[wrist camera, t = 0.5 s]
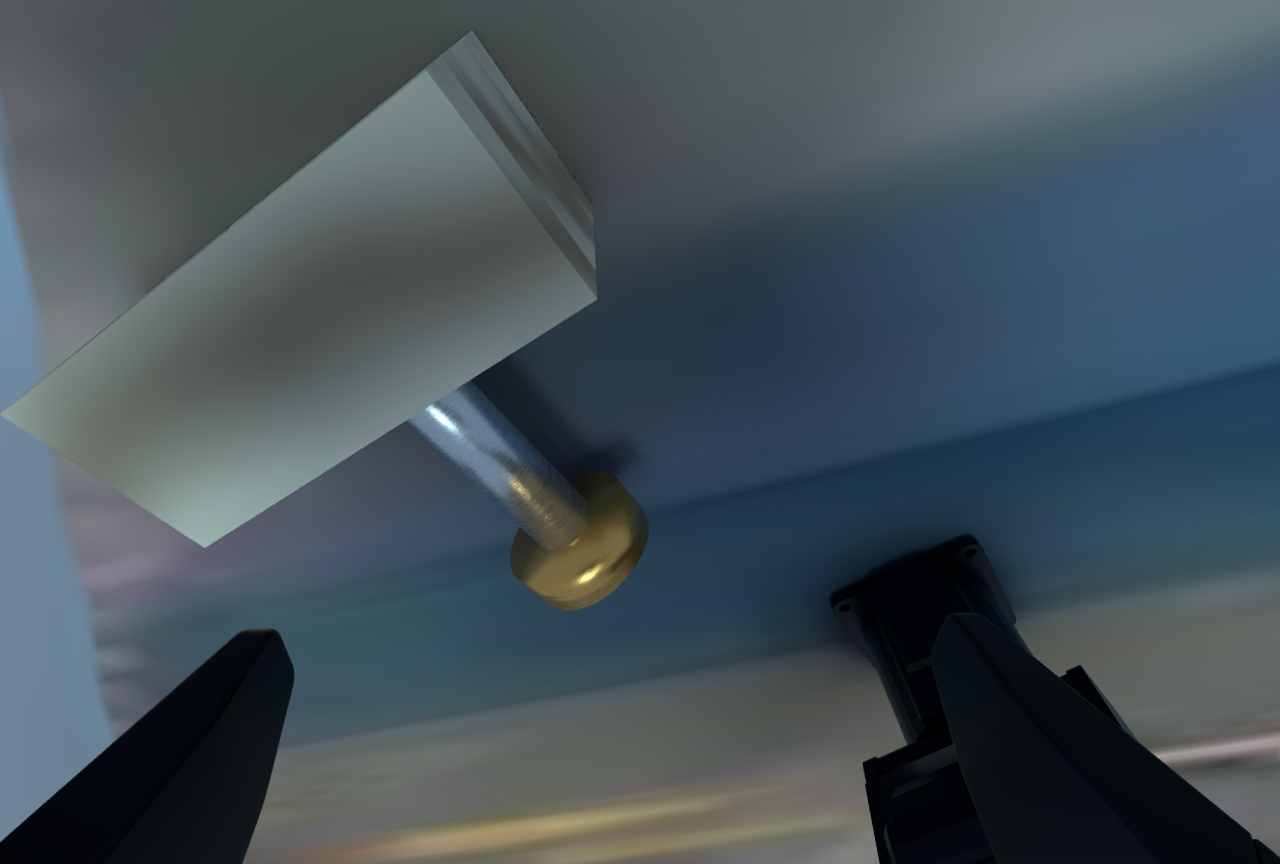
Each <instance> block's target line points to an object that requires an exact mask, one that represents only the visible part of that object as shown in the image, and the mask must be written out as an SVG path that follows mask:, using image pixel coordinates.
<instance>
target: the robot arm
mask: <svg viewBox="0 0 1280 864" xmlns="http://www.w3.org/2000/svg"><path fill="white" fill-rule="evenodd" d="M830 603H831V606H832V609H833V611H834V613H835V615H836V616H837V617H838V619H839V620H840V621H841V623H842V624H843V625H844V627H845V628H846V630H847V631H848V632H849V634H850V635H851V636H852V638H853V639H854V640H855V642H856V643H857V644H858V646H859V647H860V648H861V650H862V651H863V652H864V654H865V655H866V656H867V658H868V659H869V660H870V662H871V663H872V664H873V666H874V667H875V669H876V670H877V671H878V674H879V676H880V679H881V681H882V684H883V686H884V689H885V691H886V694H887V696H888V698H889V701H890V703H891V706H892V708H893V711H894V713H895V716H896V718H897V721H898V723H899V726H900V728H901V731H902V733H903V735H904V738H905V740H906V743H907V746H904V747H902V748H900V749H898V750H895V751H893V752H891V753H889V754H886V755H884V756H882V757H880V758H877V757H873V758H871V759H869V760H867V761H864V762H863V768H864V773H865V779H866V784H865V787H866V793H867V798H868V803H869V809H870V814H871V820H872V825H873V830H874V836H875V841H876V847H877V852H878V857H879V863H880V864H1280V857H1279V856H1278V855H1277V854H1275V853H1274V852H1273V851H1272V850H1271V849H1269V848H1268V847H1267V846H1266V845H1264V844H1263V843H1262V842H1261V841H1259V840H1257V839H1252V836H1251V834H1250V833H1249V832H1248V831H1247V830H1246V829H1244V828H1243V827H1242V826H1241V825H1240V824H1238V823H1237V822H1236V821H1235V820H1233V819H1232V818H1231V817H1230V816H1228V815H1227V814H1226V813H1225V812H1224V811H1222V810H1221V809H1220V808H1219V807H1217V806H1216V805H1215V804H1214V803H1213V802H1211V801H1210V800H1209V799H1208V798H1206V797H1205V796H1204V795H1203V794H1201V793H1200V792H1199V791H1198V790H1197V789H1195V788H1194V787H1193V786H1192V785H1190V784H1189V783H1188V782H1187V781H1186V780H1184V779H1183V778H1182V777H1181V776H1179V775H1178V774H1177V773H1176V772H1174V771H1173V770H1172V769H1171V768H1170V767H1168V766H1167V765H1166V764H1165V763H1163V762H1162V761H1161V760H1160V759H1159V758H1157V757H1156V756H1155V755H1154V754H1152V753H1151V752H1150V751H1149V750H1148V749H1146V748H1145V747H1144V746H1143V745H1141V744H1140V743H1139V742H1138V741H1137V739H1136V738H1135V736H1134V735H1133V734H1132V732H1131V731H1130V729H1129V728H1128V727H1127V725H1126V724H1125V722H1124V721H1123V719H1122V718H1121V717H1120V715H1119V714H1118V713H1117V711H1116V710H1115V709H1114V707H1113V706H1112V705H1111V704H1110V702H1109V701H1108V700H1107V698H1106V697H1105V696H1104V695H1103V693H1102V692H1101V691H1100V689H1099V688H1098V687H1097V686H1096V684H1095V683H1094V682H1093V680H1092V679H1091V678H1090V677H1089V675H1088V674H1087V673H1086V671H1085V670H1084V669H1083V668H1082V666H1081V665H1078V666H1076V667H1074V668H1072V669H1070V670H1067V671H1066V673H1067V674H1065V675H1063V676H1061V677H1058V676H1057V675H1055V674H1054V673H1053V672H1052V671H1051V670H1049V669H1048V668H1047V667H1046V666H1044V665H1043V664H1042V663H1041V662H1040V661H1038V660H1037V659H1036V658H1035V657H1034V656H1033V655H1032V653H1031V652H1030V650H1029V649H1028V647H1027V645H1026V644H1025V642H1024V641H1023V639H1022V637H1021V636H1020V634H1019V633H1018V631H1017V629H1016V628H1015V626H1014V624H1015V623H1016V617H1015V615H1014V613H1013V611H1012V609H1011V607H1010V605H1009V602H1008V600H1007V598H1006V596H1005V594H1004V592H1003V590H1002V588H1001V586H1000V584H999V581H998V579H997V577H996V575H995V573H994V571H993V569H992V567H991V565H990V563H989V560H988V558H987V556H986V554H985V552H984V550H983V548H982V546H981V545H980V543H979V542H978V540H977V539H975V538H972V537H970V538H964V539H961V540H959V541H957V542H955V543H952V544H950V545H948V546H946V547H943V548H941V549H939V550H937V551H934V552H932V553H930V554H928V555H925V556H923V557H921V558H919V559H916V560H914V561H912V562H909V563H907V564H905V565H903V566H900V567H898V568H896V569H894V570H891V571H889V572H887V573H885V574H882V575H880V576H878V577H876V578H873V579H871V580H869V581H866V582H864V583H862V584H860V585H857V586H855V587H853V588H851V589H848V590H846V591H844V592H842V593H839V594H837V595H836V596H834V597H833V598H832V599H831V602H830ZM293 684H294V668H293V664H292V662H291V660H290V657H289V655H288V652H287V650H286V648H285V645H284V643H283V640H282V638H281V636H280V634H279V632H277V631H276V630H275V629H247V630H243V631H241V632H239V633H237V634H236V635H235V636H234V637H233V638H231V639H230V640H229V641H228V642H227V643H226V644H225V645H223V646H222V647H221V648H220V649H219V650H218V651H217V652H216V653H214V654H213V655H212V656H211V657H210V658H209V659H208V660H206V661H205V662H204V663H203V664H202V665H201V666H200V667H198V668H197V669H196V670H195V671H194V672H193V673H192V674H191V675H189V676H188V677H187V678H186V679H185V680H184V681H183V682H181V683H180V684H179V685H178V686H177V687H176V688H175V689H173V690H172V691H171V692H170V693H169V694H168V695H167V696H166V697H164V698H163V699H162V700H161V701H160V702H159V703H158V704H156V705H155V706H154V707H153V708H152V709H151V710H150V711H149V712H147V713H146V714H145V715H144V716H143V717H142V718H141V719H139V720H138V721H137V722H136V723H135V724H134V725H133V726H131V727H130V728H129V729H128V730H127V731H126V732H125V733H124V734H122V735H121V736H120V737H119V738H118V739H117V740H116V741H114V742H113V743H112V744H111V745H110V746H109V747H108V748H106V749H105V750H104V751H103V752H102V753H101V754H100V755H99V756H97V757H96V758H95V759H94V760H93V761H92V762H91V763H89V764H88V765H87V766H86V767H85V768H84V769H83V770H81V772H79V773H78V774H77V775H76V776H75V777H74V778H72V779H71V780H70V781H69V782H68V783H67V784H66V785H64V787H62V788H61V789H60V790H59V791H58V792H56V793H55V794H54V795H53V796H52V797H51V798H50V799H49V800H47V801H46V802H45V803H44V804H43V805H42V806H41V807H39V808H38V809H37V810H36V811H35V812H34V813H33V814H31V815H30V816H29V817H28V818H27V819H26V820H25V821H24V822H22V823H21V824H20V825H19V826H18V827H17V828H16V829H15V830H13V831H12V832H11V833H10V834H9V835H8V836H6V837H5V838H4V839H3V840H2V841H1V842H0V864H242V863H243V860H244V857H245V855H246V852H247V849H248V846H249V844H250V841H251V838H252V835H253V833H254V830H255V827H256V824H257V822H258V819H259V816H260V813H261V810H262V807H263V804H264V800H265V797H266V793H267V789H268V786H269V782H270V778H271V774H272V770H273V766H274V762H275V758H276V754H277V750H278V746H279V741H280V737H281V733H282V729H283V725H284V721H285V717H286V713H287V709H288V705H289V701H290V697H291V693H292V689H293Z"/></svg>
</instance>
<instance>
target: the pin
mask: <svg viewBox="0 0 1280 864" xmlns="http://www.w3.org/2000/svg"><path fill="white" fill-rule="evenodd" d="M406 421H407V422H408V423H409V424H410V425H411V426H412V427H413V428H414V429H416V430H417V431H418V432H419V433H420V434H421V435H422V436H423V437H424V438H425V439H426V440H427V441H428V442H430V443H431V444H432V445H433V446H434V447H435V448H436V449H437V450H438V451H439V452H440V453H441V454H442V455H443V456H445V457H446V458H447V459H448V460H449V461H450V462H451V463H452V464H453V465H454V466H455V467H456V468H457V469H459V470H460V471H461V472H462V473H463V474H464V475H465V476H466V477H467V478H468V479H469V480H470V481H471V482H472V483H474V484H475V485H476V486H477V487H478V488H479V489H480V490H481V491H482V492H483V493H484V494H485V495H486V496H488V497H489V498H490V499H491V500H492V501H493V502H494V503H495V504H496V505H497V506H498V507H499V508H500V509H502V510H503V511H504V512H505V513H506V514H507V515H508V516H509V517H510V518H511V519H512V520H513V521H514V522H515V523H517V524H518V525H519V526H520V528H519V530H518V532H517V534H516V536H515V539H514V541H513V545H512V548H511V555H510V562H511V568H512V571H513V573H514V575H515V576H516V577H517V578H518V579H519V580H520V581H521V582H522V583H523V584H524V585H526V586H527V587H528V588H529V589H530V590H531V591H533V592H534V593H535V594H536V595H537V596H538V597H539V598H541V599H542V600H543V601H544V602H545V603H546V604H548V605H549V606H550V607H552V608H554V609H557V610H561V611H574V610H579V609H582V608H586V607H588V606H590V605H593V604H595V603H597V602H598V601H600V600H602V599H603V598H605V597H606V596H608V595H609V594H610V593H611V592H613V591H614V590H615V589H616V588H617V587H618V586H619V585H620V584H621V583H622V582H623V581H624V580H625V579H626V578H627V577H628V576H629V574H630V573H631V572H632V570H633V569H634V568H635V566H636V564H637V563H638V561H639V559H640V557H641V555H642V553H643V551H644V548H645V546H646V542H647V538H648V531H649V522H648V518H647V515H646V512H645V510H644V509H643V508H642V506H641V505H640V504H639V503H638V502H637V501H636V500H635V498H634V497H633V496H632V495H631V494H630V493H629V492H628V491H627V489H626V488H625V487H624V486H623V485H622V484H621V483H620V482H619V480H618V479H617V478H616V477H614V476H613V475H612V474H610V473H607V472H604V471H591V472H585V473H582V474H579V475H576V476H574V477H572V478H570V479H568V480H566V479H565V478H564V477H563V476H562V475H561V474H560V473H559V472H558V471H557V470H556V469H555V468H554V467H553V466H552V465H551V464H550V463H549V462H548V460H547V459H546V458H545V457H544V456H543V455H542V454H541V453H540V452H539V451H538V450H537V449H536V448H535V447H534V446H533V445H532V444H531V443H530V442H529V441H528V440H527V438H526V437H525V436H524V435H523V434H522V433H521V432H520V431H519V430H518V429H517V428H516V427H515V426H514V425H513V424H512V423H511V422H510V421H509V420H508V419H507V418H506V416H505V415H504V414H503V413H502V412H501V411H500V410H499V409H498V408H497V407H496V406H495V405H494V404H493V403H492V402H491V401H490V400H489V399H488V398H487V397H486V396H485V394H484V393H483V392H482V391H481V390H480V389H479V388H478V387H477V386H476V385H475V384H474V383H473V382H472V381H471V380H469V381H468V382H466V383H465V384H463V385H461V386H460V387H458V388H457V389H455V390H454V391H452V392H450V393H449V394H447V395H446V396H444V397H442V398H441V399H439V400H438V401H436V402H435V403H433V404H431V405H430V406H428V407H427V408H425V409H424V410H422V411H420V412H419V413H417V414H416V415H414V416H412V417H411V418H409V419H408V420H406Z"/></svg>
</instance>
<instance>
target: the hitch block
mask: <svg viewBox="0 0 1280 864" xmlns="http://www.w3.org/2000/svg"><path fill="white" fill-rule="evenodd" d="M596 300H597V281H596V261H595V240H594V220H593V205H592V204H591V202H590V201H589V199H588V198H587V197H586V195H585V194H584V192H583V191H582V189H581V188H580V186H579V185H578V183H577V182H576V181H575V179H574V178H573V176H572V175H571V173H570V172H569V170H568V169H567V167H566V166H565V165H564V163H563V162H562V160H561V159H560V157H559V156H558V154H557V153H556V151H555V150H554V149H553V147H552V146H551V144H550V143H549V141H548V140H547V138H546V137H545V135H544V134H543V132H542V131H541V130H540V128H539V127H538V125H537V124H536V122H535V121H534V119H533V118H532V116H531V115H530V114H529V112H528V111H527V109H526V108H525V106H524V105H523V103H522V102H521V100H520V99H519V98H518V96H517V95H516V93H515V92H514V90H513V89H512V87H511V86H510V84H509V83H508V82H507V80H506V79H505V77H504V76H503V74H502V73H501V71H500V70H499V68H498V67H497V65H496V64H495V63H494V61H493V60H492V58H491V57H490V55H489V54H488V52H487V51H486V49H485V48H484V47H483V45H482V44H481V42H480V41H479V39H478V38H477V36H476V35H475V33H474V32H473V31H472V30H471V31H470V32H469V33H467V34H466V35H465V36H464V37H462V38H461V39H460V40H459V41H458V42H456V43H455V44H454V45H453V46H451V47H450V48H449V49H448V50H446V51H445V52H444V53H443V54H441V55H440V56H439V57H438V58H437V59H435V60H434V61H433V62H432V63H430V64H429V65H428V66H427V67H425V68H424V69H423V70H422V71H421V72H419V73H418V74H417V75H416V76H414V77H413V78H412V79H411V80H409V81H408V82H407V83H406V84H404V85H403V86H402V87H401V88H400V89H398V90H397V91H396V92H395V93H393V94H392V95H391V96H390V97H388V98H387V99H386V100H385V101H383V102H382V103H381V104H380V105H379V106H377V107H376V108H375V109H374V110H372V111H371V112H370V113H369V114H367V115H366V116H365V117H364V118H363V119H361V120H360V121H359V122H358V123H356V124H355V125H354V126H353V127H351V128H350V129H349V130H348V131H346V132H345V133H344V134H343V135H342V136H340V137H339V138H338V139H337V140H335V141H334V142H333V143H332V144H330V145H329V146H328V147H327V148H326V149H324V150H323V151H322V152H321V153H319V154H318V155H317V156H316V157H314V158H313V159H312V160H311V161H309V162H308V163H307V164H306V165H305V166H303V167H302V168H301V169H300V170H298V171H297V172H296V173H295V174H293V175H292V176H291V177H290V178H288V179H287V180H286V181H285V182H284V183H282V184H281V185H280V186H279V187H277V188H276V189H275V190H274V191H272V192H271V193H270V194H269V195H268V196H266V197H265V198H264V199H263V200H261V201H260V202H259V203H258V204H256V205H255V206H254V207H253V208H251V209H250V210H249V211H248V212H247V213H245V214H244V215H243V216H242V217H240V218H239V219H238V220H237V221H235V222H234V223H233V224H232V225H230V226H229V227H228V228H227V229H226V230H224V231H223V232H222V233H221V234H219V235H218V236H217V237H216V238H214V239H213V240H212V241H211V242H210V243H208V244H207V245H206V246H205V247H203V248H202V249H201V250H200V251H198V252H197V253H196V254H195V255H193V256H192V257H191V258H190V259H189V260H187V261H186V262H185V263H184V264H182V265H181V266H180V267H179V268H177V269H176V270H175V271H174V272H173V273H171V274H170V275H169V276H168V277H166V278H165V279H164V280H163V281H161V282H160V283H159V284H158V285H156V286H155V287H154V288H153V289H152V290H150V291H149V292H148V293H147V294H145V295H144V296H143V297H142V298H141V299H139V300H138V301H137V302H136V303H134V304H133V305H132V306H131V307H130V308H128V309H127V310H126V311H125V312H124V313H122V314H121V315H120V316H119V317H118V318H116V319H115V320H114V321H113V322H111V323H110V324H109V325H108V326H107V327H105V328H104V329H103V330H102V331H101V332H99V333H98V334H97V335H96V336H95V337H93V338H92V339H91V340H90V341H88V342H87V343H86V344H85V345H84V346H82V347H81V348H80V349H79V350H78V351H76V352H75V353H74V354H73V355H72V356H70V357H69V358H68V359H67V360H65V361H64V362H63V363H62V364H61V365H59V366H58V367H57V368H56V369H55V370H53V371H52V372H51V373H50V374H49V375H47V376H46V377H45V378H44V379H42V380H41V381H40V382H39V383H38V384H36V385H35V386H34V387H33V388H32V389H30V390H29V391H28V392H27V393H26V394H24V395H23V396H22V397H21V398H20V399H18V400H17V401H16V402H15V403H13V404H12V405H11V406H10V407H9V408H8V409H6V410H5V411H4V412H3V413H1V414H0V415H1V416H3V417H5V418H6V419H7V420H9V421H11V422H12V423H14V424H15V425H17V426H18V427H20V428H21V429H23V430H24V431H26V432H28V433H29V434H30V435H32V436H34V437H35V438H37V439H38V440H40V441H41V442H43V443H44V444H46V445H47V446H49V447H50V448H52V449H54V450H55V451H57V452H58V453H60V454H61V455H63V456H64V457H66V458H67V459H69V460H70V461H72V462H73V463H75V464H77V465H78V466H80V467H81V468H83V469H84V470H86V471H87V472H89V473H90V474H92V475H93V476H95V477H97V478H98V479H100V480H101V481H103V482H104V483H106V484H107V485H109V486H110V487H112V488H113V489H115V490H116V491H118V492H120V493H121V494H123V495H124V496H126V497H127V498H129V499H130V500H132V501H133V502H135V503H136V504H138V505H140V506H141V507H143V508H144V509H146V510H147V511H149V512H150V513H152V514H153V515H155V516H156V517H158V518H159V519H161V520H163V521H164V522H166V523H167V524H169V525H170V526H172V527H173V528H175V529H176V530H178V531H179V532H181V533H183V534H184V535H186V536H187V537H189V538H190V539H192V540H193V541H195V542H196V543H198V544H199V545H201V546H202V547H204V548H206V547H207V546H209V545H210V544H212V543H214V542H215V541H217V540H218V539H220V538H221V537H223V536H225V535H226V534H228V533H229V532H231V531H233V530H234V529H236V528H237V527H239V526H240V525H242V524H244V523H245V522H247V521H248V520H250V519H251V518H253V517H255V516H256V515H258V514H259V513H261V512H262V511H264V510H266V509H267V508H269V507H270V506H272V505H274V504H275V503H277V502H278V501H280V500H281V499H283V498H285V497H286V496H288V495H289V494H291V493H292V492H294V491H296V490H297V489H299V488H300V487H302V486H304V485H305V484H307V483H308V482H310V481H311V480H313V479H315V478H316V477H318V476H319V475H321V474H322V473H324V472H326V471H327V470H329V469H330V468H332V467H334V466H335V465H337V464H338V463H340V462H341V461H343V460H345V459H346V458H348V457H349V456H351V455H352V454H354V453H356V452H357V451H359V450H360V449H362V448H364V447H365V446H367V445H368V444H370V443H371V442H373V441H375V440H376V439H378V438H379V437H381V436H382V435H384V434H386V433H387V432H389V431H390V430H392V429H394V428H395V427H397V426H398V425H400V424H401V423H403V422H405V421H406V420H408V419H409V418H411V417H412V416H414V415H416V414H417V413H419V412H420V411H422V410H424V409H425V408H427V407H428V406H430V405H431V404H433V403H435V402H436V401H438V400H439V399H441V398H442V397H444V396H446V395H447V394H449V393H450V392H452V391H454V390H455V389H457V388H458V387H460V386H461V385H463V384H465V383H466V382H468V381H469V380H471V379H472V378H474V377H476V376H477V375H479V374H480V373H482V372H484V371H485V370H487V369H488V368H490V367H491V366H493V365H495V364H496V363H498V362H499V361H501V360H502V359H504V358H506V357H507V356H509V355H510V354H512V353H514V352H515V351H517V350H518V349H520V348H521V347H523V346H525V345H526V344H528V343H529V342H531V341H532V340H534V339H536V338H537V337H539V336H540V335H542V334H544V333H545V332H547V331H548V330H550V329H551V328H553V327H555V326H556V325H558V324H559V323H561V322H562V321H564V320H566V319H567V318H569V317H570V316H572V315H574V314H575V313H577V312H578V311H580V310H581V309H583V308H585V307H586V306H588V305H589V304H591V303H592V302H594V301H596Z"/></svg>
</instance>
